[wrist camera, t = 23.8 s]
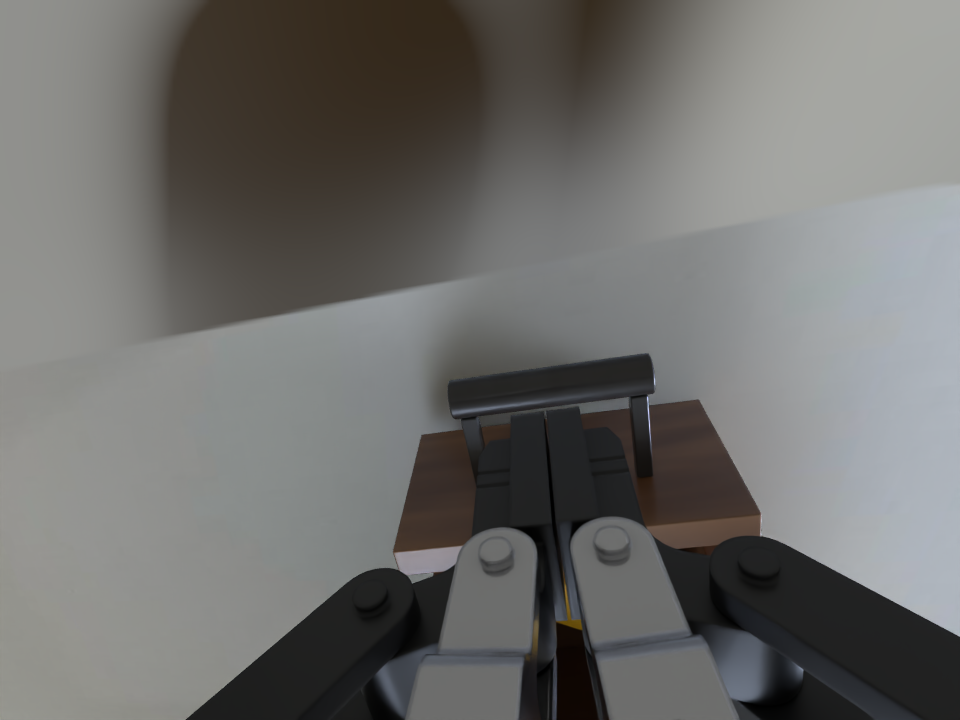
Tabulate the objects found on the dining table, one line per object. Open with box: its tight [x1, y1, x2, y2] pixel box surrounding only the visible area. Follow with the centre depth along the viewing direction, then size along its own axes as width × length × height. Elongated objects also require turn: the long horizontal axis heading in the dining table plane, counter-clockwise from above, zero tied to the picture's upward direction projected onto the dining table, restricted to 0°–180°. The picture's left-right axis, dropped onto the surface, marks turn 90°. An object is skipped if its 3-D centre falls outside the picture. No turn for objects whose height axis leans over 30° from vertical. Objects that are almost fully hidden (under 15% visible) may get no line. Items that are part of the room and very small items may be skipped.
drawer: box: [393, 353, 762, 720], centre depth 25 cm, size 20×12×7 cm, turn 10°
